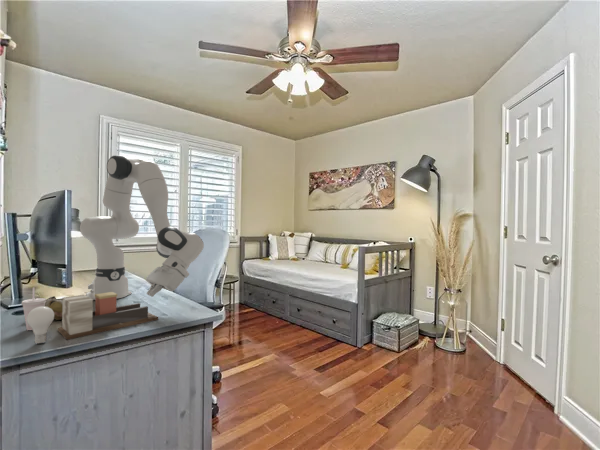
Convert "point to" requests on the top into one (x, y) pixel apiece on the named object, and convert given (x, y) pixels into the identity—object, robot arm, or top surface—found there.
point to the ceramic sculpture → (55, 306)
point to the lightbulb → (40, 322)
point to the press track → (98, 317)
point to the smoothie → (32, 306)
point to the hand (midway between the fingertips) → (149, 295)
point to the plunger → (105, 303)
